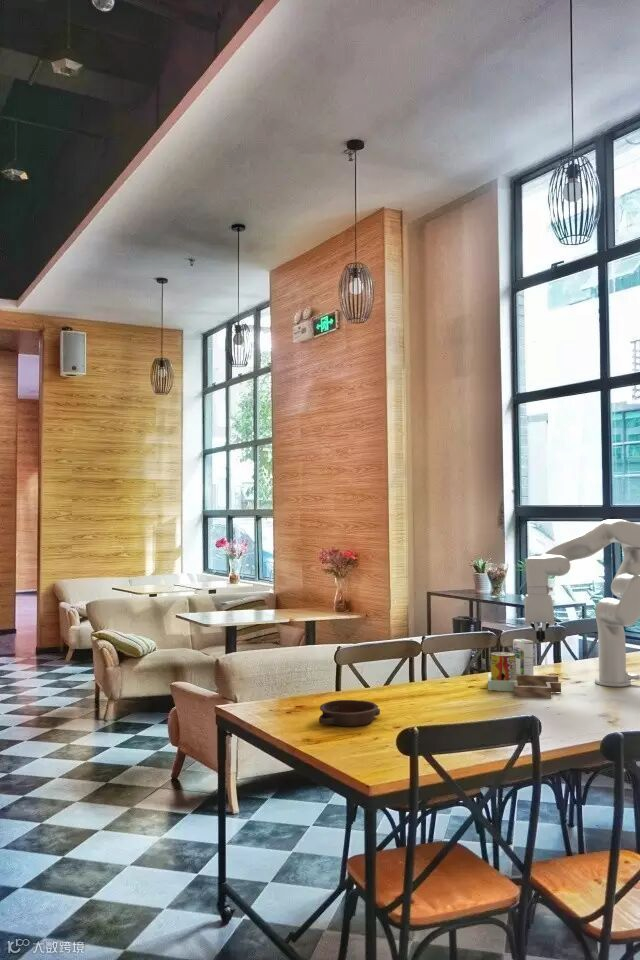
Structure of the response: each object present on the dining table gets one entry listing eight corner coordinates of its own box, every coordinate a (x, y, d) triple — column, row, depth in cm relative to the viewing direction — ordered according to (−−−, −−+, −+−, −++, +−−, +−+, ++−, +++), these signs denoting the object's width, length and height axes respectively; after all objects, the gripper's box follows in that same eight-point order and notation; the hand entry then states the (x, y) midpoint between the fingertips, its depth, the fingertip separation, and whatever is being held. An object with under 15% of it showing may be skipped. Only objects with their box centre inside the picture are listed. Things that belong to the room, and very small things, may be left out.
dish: (303, 722, 243) (302, 705, 243) (359, 711, 256) (359, 695, 256) (337, 734, 229) (337, 716, 229) (395, 722, 242) (395, 705, 242)
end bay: (516, 683, 297) (516, 674, 297) (517, 691, 283) (517, 681, 283) (488, 682, 299) (488, 673, 299) (487, 690, 285) (487, 680, 285)
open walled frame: (558, 685, 293) (558, 676, 293) (563, 698, 272) (562, 688, 272) (491, 683, 298) (491, 673, 298) (491, 695, 277) (491, 685, 277)
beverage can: (489, 688, 288) (489, 655, 289) (493, 684, 297) (492, 651, 297) (515, 690, 285) (514, 656, 286) (518, 685, 294) (517, 652, 294)
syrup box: (512, 676, 310) (511, 639, 311) (524, 675, 312) (524, 638, 313) (522, 679, 305) (521, 641, 306) (534, 678, 307) (533, 640, 308)
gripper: (558, 589, 292) (561, 639, 291) (516, 590, 295) (519, 640, 294) (560, 591, 285) (563, 643, 284) (517, 592, 288) (520, 643, 287)
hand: (540, 641), depth 289 cm, fingers closed
